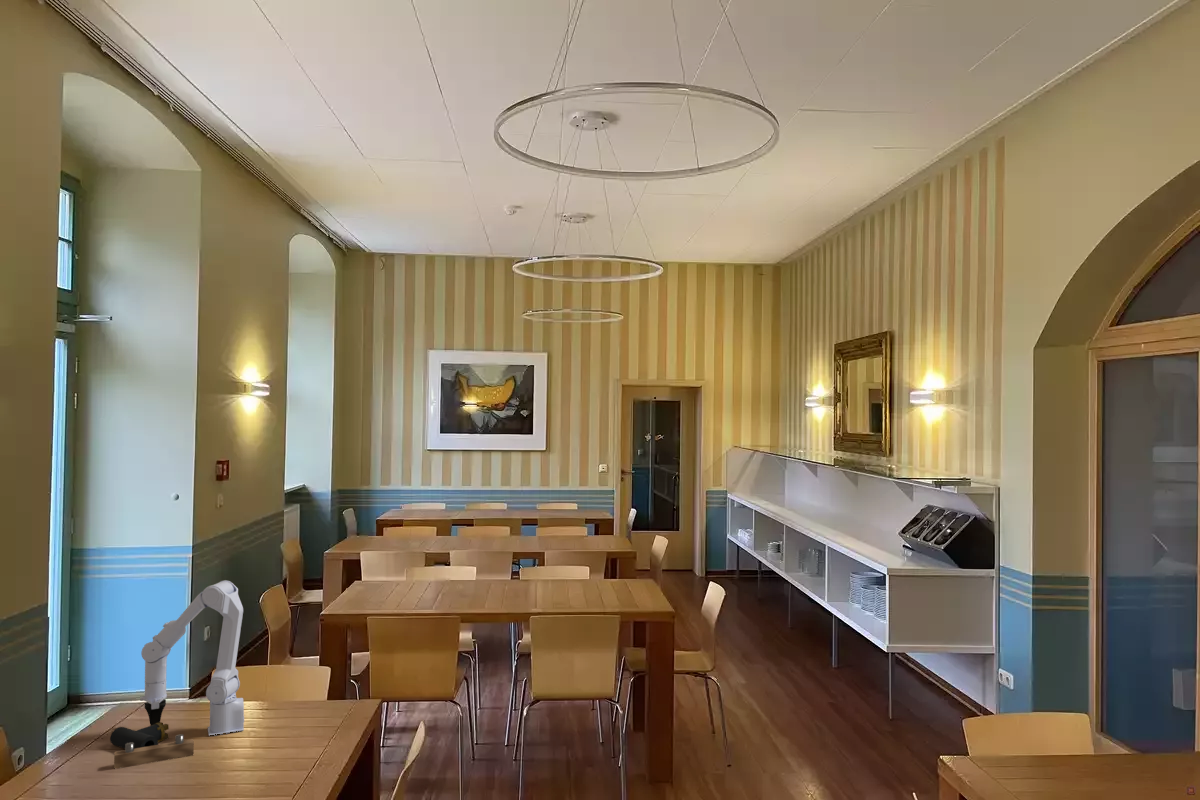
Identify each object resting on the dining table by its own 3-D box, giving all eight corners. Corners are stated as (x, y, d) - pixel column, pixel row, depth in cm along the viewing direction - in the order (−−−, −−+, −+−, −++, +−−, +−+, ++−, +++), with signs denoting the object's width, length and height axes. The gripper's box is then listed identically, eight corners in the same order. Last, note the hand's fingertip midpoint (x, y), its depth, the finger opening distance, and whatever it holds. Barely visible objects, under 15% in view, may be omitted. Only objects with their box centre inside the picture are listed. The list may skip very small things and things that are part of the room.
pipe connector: (149, 716, 243) (179, 725, 236) (149, 734, 243) (179, 744, 236) (110, 729, 234) (140, 739, 226) (110, 748, 233) (140, 758, 226)
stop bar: (193, 751, 229) (193, 731, 230) (193, 755, 227) (193, 735, 227) (114, 765, 220) (114, 744, 220) (114, 769, 218) (114, 748, 218)
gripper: (140, 676, 250) (140, 721, 250) (139, 689, 238) (139, 736, 237) (166, 673, 254) (166, 717, 253) (167, 685, 241) (166, 732, 240)
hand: (154, 726), depth 245 cm, fingers closed
